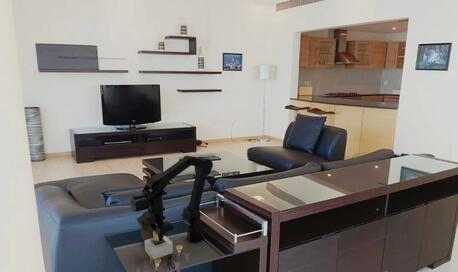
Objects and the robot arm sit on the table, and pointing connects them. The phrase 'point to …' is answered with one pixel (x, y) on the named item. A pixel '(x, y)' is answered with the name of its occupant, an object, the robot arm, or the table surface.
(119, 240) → the table surface
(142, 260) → the table surface
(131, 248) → the table surface
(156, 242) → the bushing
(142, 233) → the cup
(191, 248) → the table surface
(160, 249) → the jig
